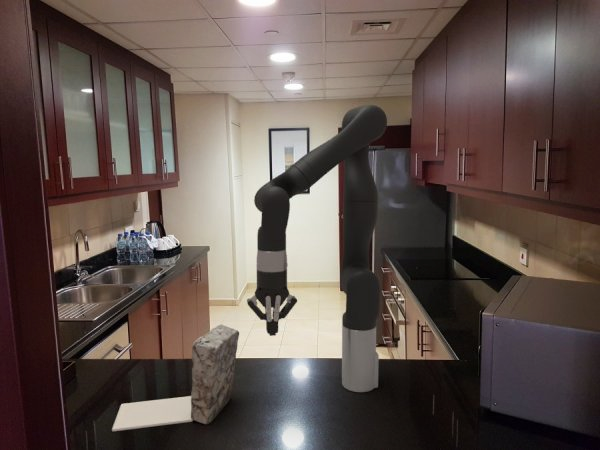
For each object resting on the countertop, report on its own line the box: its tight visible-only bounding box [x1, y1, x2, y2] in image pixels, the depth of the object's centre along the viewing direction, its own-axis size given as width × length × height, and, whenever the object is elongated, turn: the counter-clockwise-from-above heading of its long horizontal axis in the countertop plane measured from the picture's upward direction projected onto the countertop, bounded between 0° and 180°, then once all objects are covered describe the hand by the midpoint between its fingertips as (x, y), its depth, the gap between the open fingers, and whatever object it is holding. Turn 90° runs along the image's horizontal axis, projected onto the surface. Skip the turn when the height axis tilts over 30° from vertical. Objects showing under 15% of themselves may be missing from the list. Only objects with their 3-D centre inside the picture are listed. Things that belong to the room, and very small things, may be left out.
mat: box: [111, 395, 194, 432], centre depth 106 cm, size 18×11×1 cm, turn 102°
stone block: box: [190, 324, 240, 425], centre depth 105 cm, size 13×7×20 cm, turn 167°
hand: (272, 334), depth 108 cm, fingers closed
